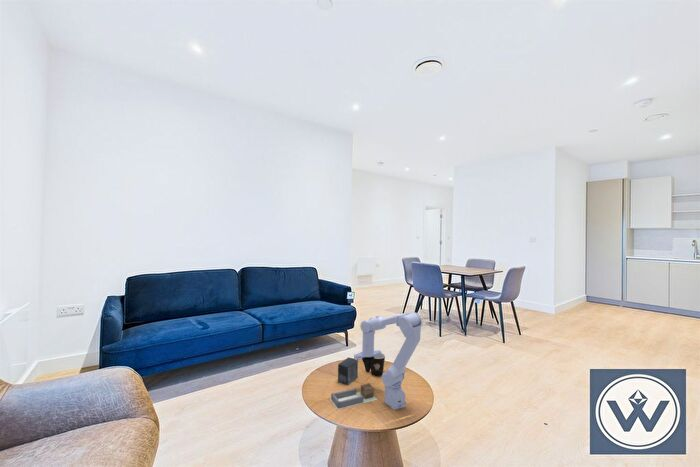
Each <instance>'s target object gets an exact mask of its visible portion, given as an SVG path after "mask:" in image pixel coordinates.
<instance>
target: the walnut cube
mask: <svg viewBox="0 0 700 467" xmlns="http://www.w3.org/2000/svg"><path fill="white" fill-rule="evenodd" d="M374 391H375V388H374V386H373V385H372V384H371V383H370V382H368V383H363V384H360V392H361V395H362V396H363V397H364V399H368V398H372V397H375V395H374V393H375V392H374Z"/></svg>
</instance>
